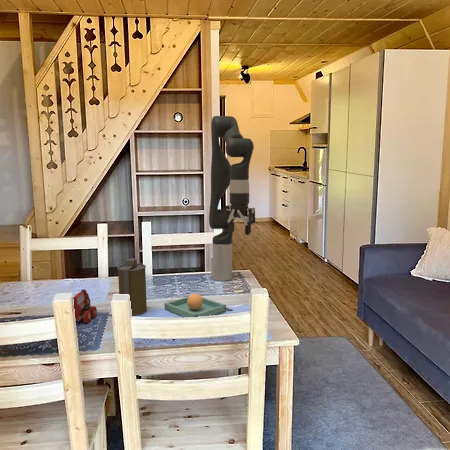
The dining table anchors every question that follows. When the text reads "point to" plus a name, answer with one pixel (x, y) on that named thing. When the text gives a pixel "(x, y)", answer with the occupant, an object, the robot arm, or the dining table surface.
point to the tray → (205, 310)
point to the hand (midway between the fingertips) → (239, 233)
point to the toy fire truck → (83, 307)
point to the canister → (133, 284)
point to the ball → (194, 301)
